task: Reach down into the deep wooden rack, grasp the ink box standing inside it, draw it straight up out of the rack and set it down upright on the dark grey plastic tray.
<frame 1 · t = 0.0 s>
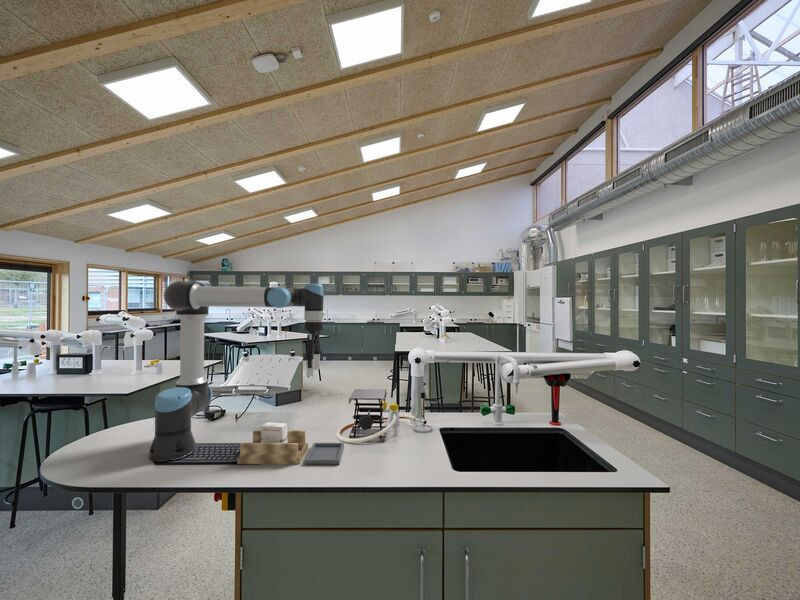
hand: (313, 372, 159), 28 cm above the table, fingers open, 13 cm apart
tray: (325, 455, 144), on the table
rack: (274, 455, 144), on the table
ink box: (274, 456, 144), resting in rack
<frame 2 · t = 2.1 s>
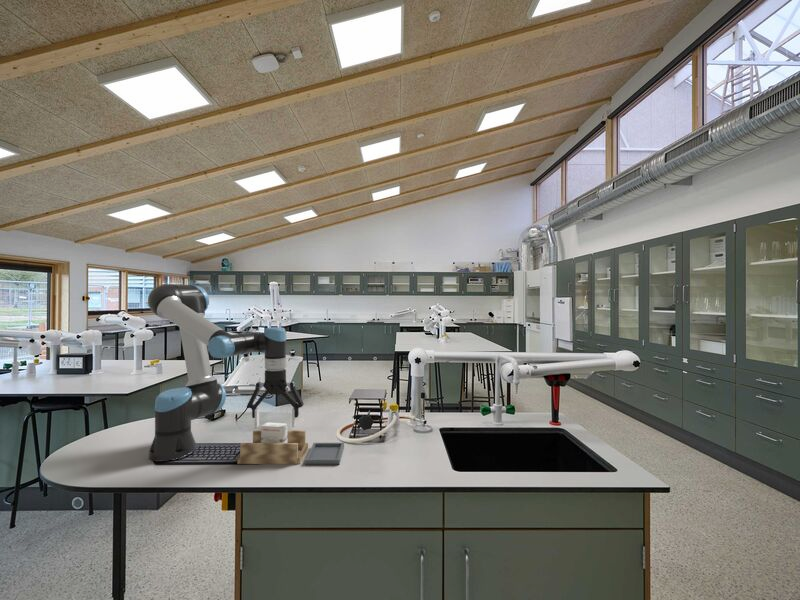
hand: (275, 426, 143), 11 cm above the table, fingers open, 13 cm apart
nothing on the table moved.
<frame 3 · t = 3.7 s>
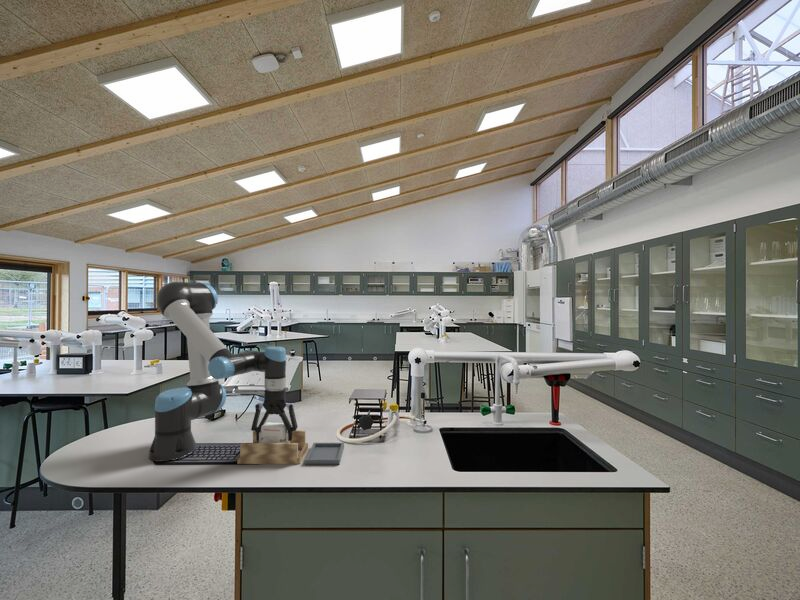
hand: (274, 449, 144), 2 cm above the table, fingers closed on ink box, 9 cm apart
ink box: (274, 456, 144), resting in rack, touching gripper
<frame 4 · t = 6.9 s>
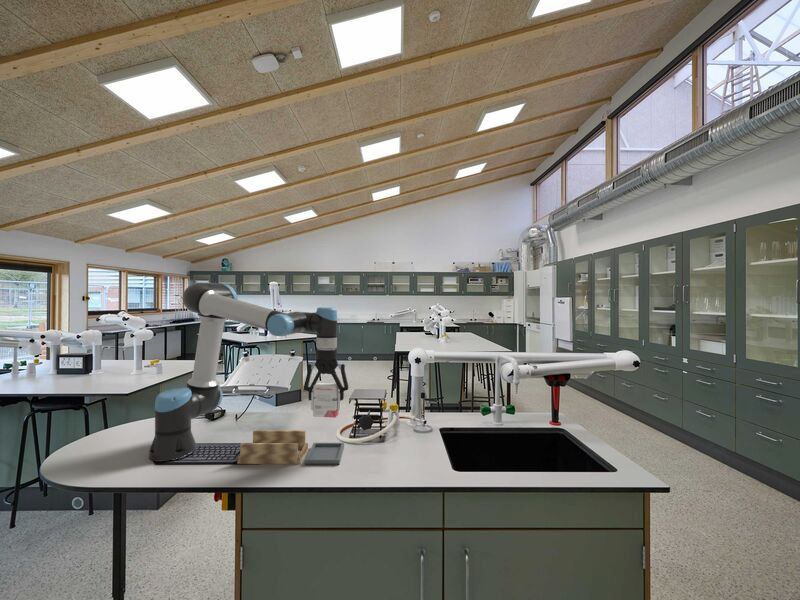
hand: (326, 408, 144), 18 cm above the table, fingers closed on ink box, 9 cm apart
ink box: (326, 416, 144), point 15 cm above the table, touching gripper
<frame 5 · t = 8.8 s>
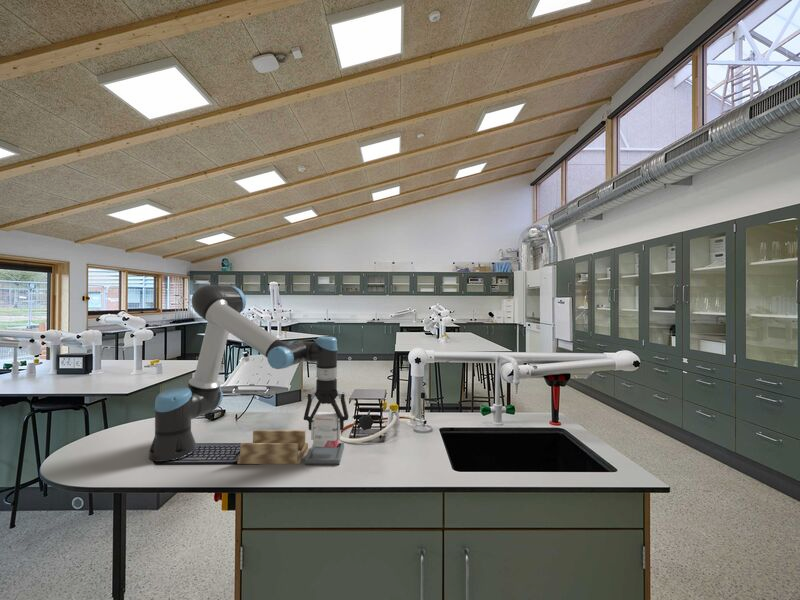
hand: (326, 438, 144), 6 cm above the table, fingers closed on ink box, 9 cm apart
ink box: (326, 445, 144), point 4 cm above the table, touching gripper
when the fingers open (4 cm above the table, at t = 10.2 s): ink box drops 1 cm, resting on tray.
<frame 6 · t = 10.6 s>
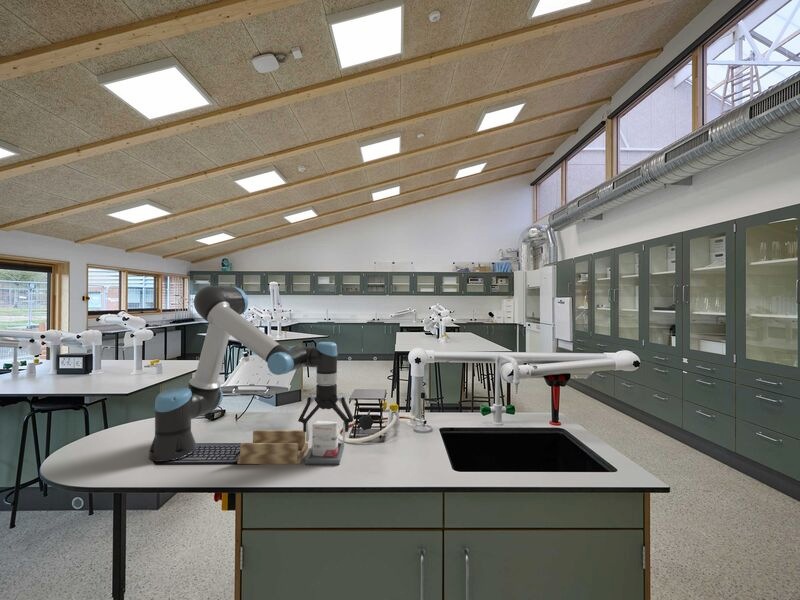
hand: (325, 440, 144), 6 cm above the table, fingers open, 13 cm apart
ink box: (325, 454, 144), resting on tray
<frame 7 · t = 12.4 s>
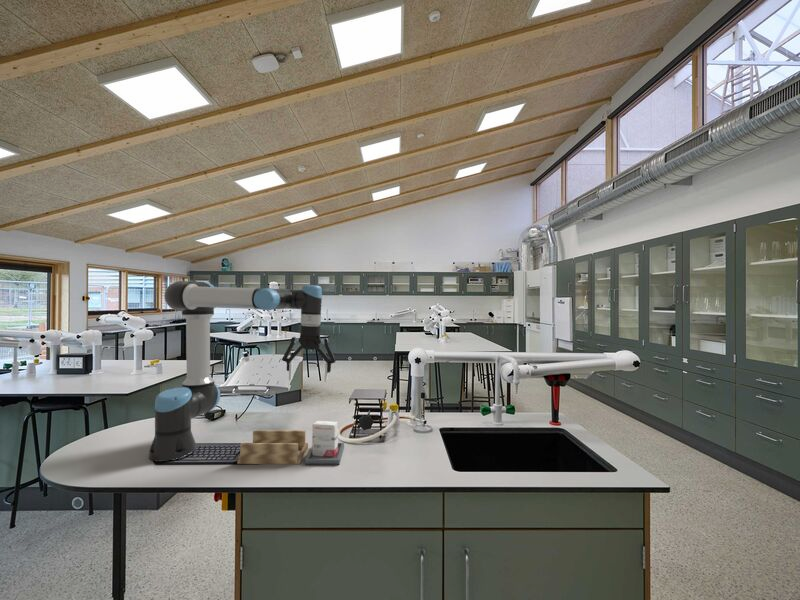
hand: (308, 380, 149), 27 cm above the table, fingers open, 13 cm apart
nothing on the table moved.
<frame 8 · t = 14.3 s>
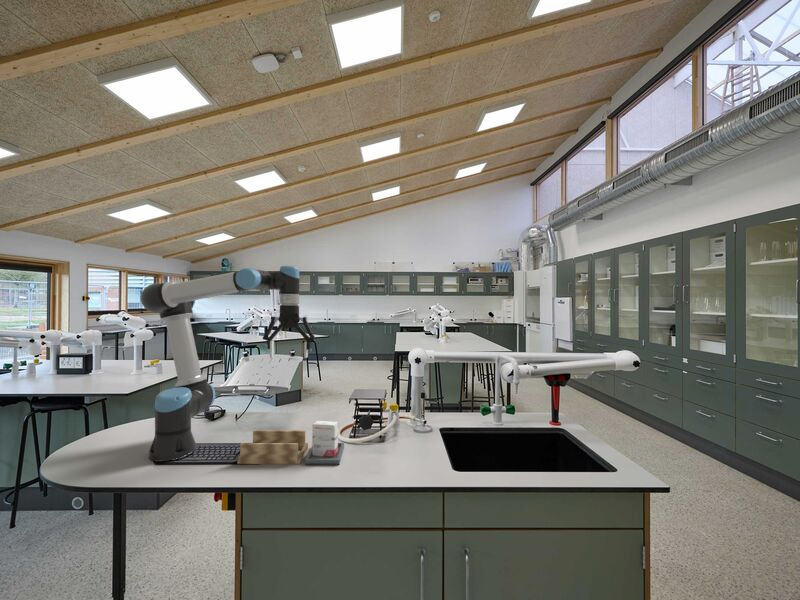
hand: (288, 357, 155), 35 cm above the table, fingers open, 13 cm apart
nothing on the table moved.
at the end: ink box inside the target area on the tray (0.2 cm from its centre), point 0.4 cm above the tray's base; ink box tilted 0°; the gripper is holding nothing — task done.
